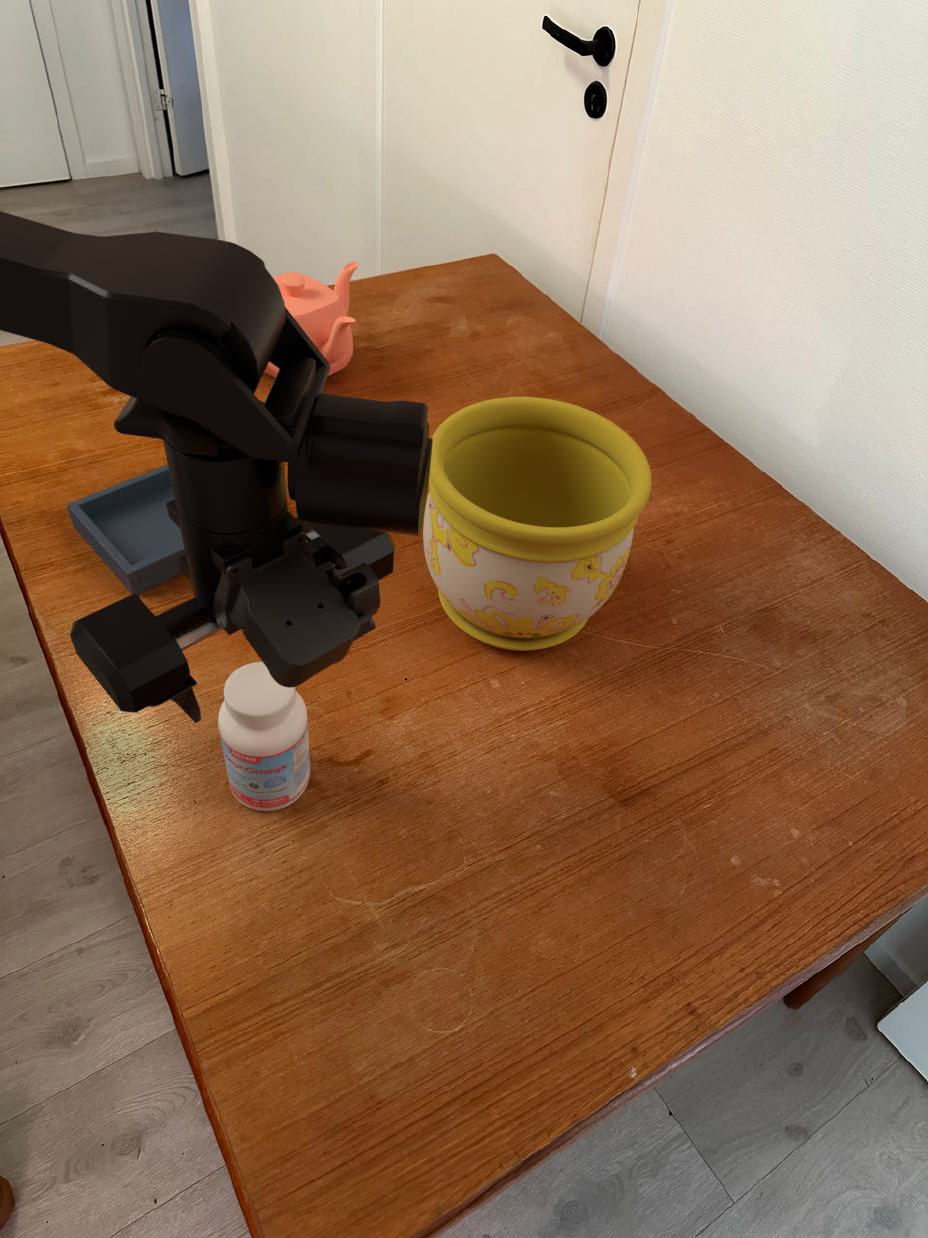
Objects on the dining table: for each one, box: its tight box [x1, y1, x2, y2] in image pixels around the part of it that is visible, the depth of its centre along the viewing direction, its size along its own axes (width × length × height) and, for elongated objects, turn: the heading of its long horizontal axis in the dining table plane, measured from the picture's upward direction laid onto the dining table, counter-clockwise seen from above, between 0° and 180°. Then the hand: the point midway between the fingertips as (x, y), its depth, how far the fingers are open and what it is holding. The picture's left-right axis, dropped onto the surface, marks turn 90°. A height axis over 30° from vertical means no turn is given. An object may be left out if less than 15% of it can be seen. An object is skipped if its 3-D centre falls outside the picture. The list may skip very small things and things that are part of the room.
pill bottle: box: [217, 661, 311, 812], centre depth 62 cm, size 6×6×11 cm
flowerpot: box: [422, 396, 652, 652], centre depth 75 cm, size 18×18×16 cm
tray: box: [65, 463, 185, 596], centre depth 83 cm, size 16×12×3 cm
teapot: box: [264, 261, 360, 379], centre depth 100 cm, size 14×14×11 cm
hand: (256, 682), depth 57 cm, fingers open, 9 cm apart
